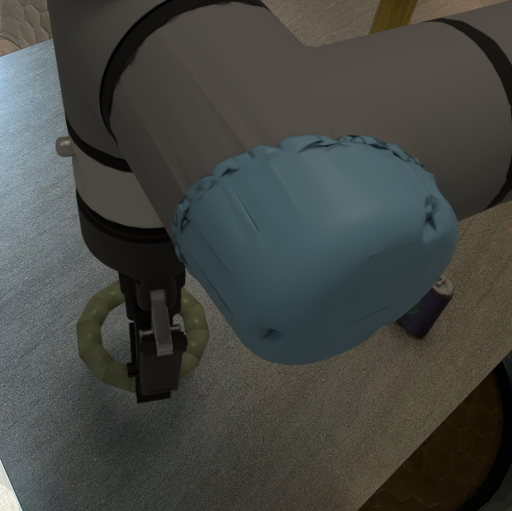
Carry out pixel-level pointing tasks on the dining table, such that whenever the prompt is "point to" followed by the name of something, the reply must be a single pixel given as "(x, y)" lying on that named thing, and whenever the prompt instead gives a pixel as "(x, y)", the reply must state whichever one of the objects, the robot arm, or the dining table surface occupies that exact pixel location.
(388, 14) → the vase
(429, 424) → the dining table surface
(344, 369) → the dining table surface
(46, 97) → the dining table surface
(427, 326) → the flask
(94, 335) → the ring
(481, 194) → the robot arm
